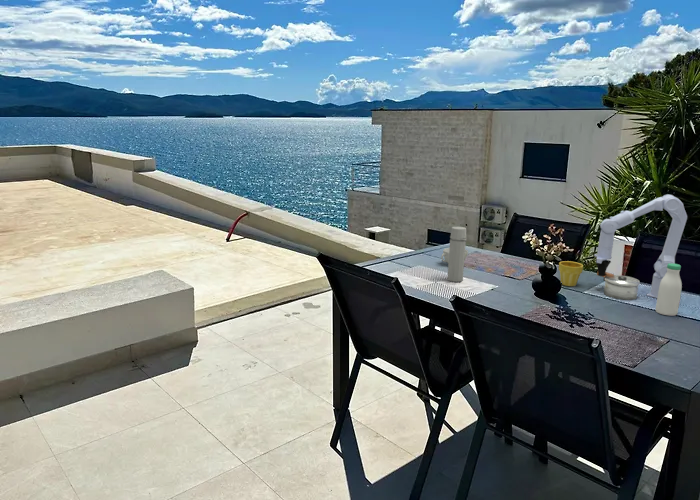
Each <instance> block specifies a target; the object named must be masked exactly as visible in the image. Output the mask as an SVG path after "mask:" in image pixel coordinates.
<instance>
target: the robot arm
mask: <svg viewBox="0 0 700 500" xmlns="http://www.w3.org/2000/svg"><path fill="white" fill-rule="evenodd" d="M663 209H664V210H665V211H667V212H668V214H669V215H670V217H671V218H672V219H671V223H670V226H669V229H668V232H667V236H666V239H665V242H664V245H663V249H662V252H661V254H660V255H659V257H658V258H657V260H656V262H655V263H654V264H653V268H654V271H655V272H654V273H653V275H652V282H651V288H650V292H649V293H646V296H647V297H652V298H656V299H657V297H658V291H659V286H660V282H661V280H662V278H663V277H664V276H665V274H666V272H667V265H668V264H669V263H673V264H676V255H677V251H678V248H679V245H680V241H681V238H682V236H683V232H684V229H685V226H686V223H687V220H688V214H687V212H686V210H685V206H684V202H682V201H681V200H680V199H679V198H678V197H676V196H674V195H673V194H668V193H667V194H664V195H663V196H660V197H656V198H655V199H652V200H650V201H649V202H647V203H645V204H643V205H641V206H638V207H637V208H635V209H633V210H631V211H630V210H621V211H620V213H617V214H616V215H614V216H609V218H605V219H603V220H602V222H601V223H600V224H599V225H600V226H599V227H600V235H599V239H598V245H597V252H596V253H594V254H593V256H594V257H596V259H595V263H596V266H597V272H598V275H597V276H599V277H602V276H604V275H605V272H607V269H608V267H609V265H610V264H611V263H612V261H611V260H612V253H613V247H614V246H613V245H614V240H615V239H614V238H615V232H616V231H617V230H619V229H621V228H623V227H626V226H627V225H630V224H632V223H634V220H635V219H636V218H638V217H641V216H643V215H646V214H648V213H650V212H652V211H662V212H663V211H664V210H663Z"/></svg>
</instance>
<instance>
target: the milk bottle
mask: <svg viewBox="0 0 700 500" xmlns="http://www.w3.org/2000/svg"><path fill="white" fill-rule="evenodd" d="M681 268H682V266H681V265H680V264H678V263H675V264H673V263H669V264H668V265H667V272H666V274H665V276H664V277H663V278H662V280H661V282H660V286H659V291H658V297H657V298H656V304H655V312H656V313H658V314H660V315H664V316H672V317H673V316H677V315H678V312H679V308H680V302H681V297H682V296H681V295H682V288H683V286H682V285H683V283H682V279H681V276H680V271H681Z"/></svg>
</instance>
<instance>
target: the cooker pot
mask: <svg viewBox="0 0 700 500" xmlns="http://www.w3.org/2000/svg"><path fill="white" fill-rule="evenodd" d="M603 281H604V286H603V287H604V288H603V294H604V295H605V296H606V297H608V296H609V298H611V297H612V298H611V299H615V300H622V301H633V300H636V299H637V298H638V291H639V286H635V287H625V286H618V285H614V284H610V283H608V282H606V281H605V277H603Z"/></svg>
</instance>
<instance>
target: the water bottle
mask: <svg viewBox="0 0 700 500" xmlns="http://www.w3.org/2000/svg"><path fill="white" fill-rule="evenodd" d="M449 238H450V239H449V247H448V248H449V263H447V280H448V281H449V282H452V283H461V282H462V281H463V280H464V271H465V270H464V269H465V261H464V258H465V250H466V243H467V242H466V241H467V240H468V239H467V228H466V227H465V226H464V227H463V226H451V231H450V236H449Z"/></svg>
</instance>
